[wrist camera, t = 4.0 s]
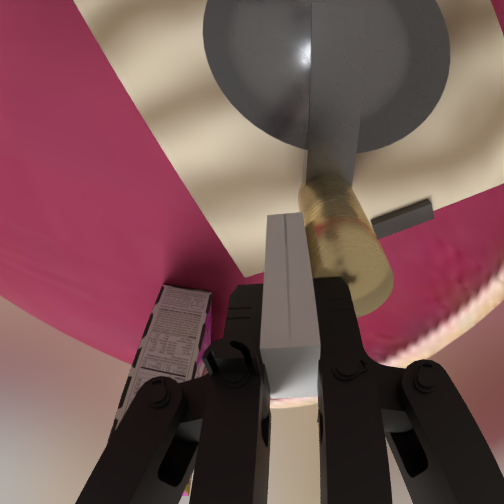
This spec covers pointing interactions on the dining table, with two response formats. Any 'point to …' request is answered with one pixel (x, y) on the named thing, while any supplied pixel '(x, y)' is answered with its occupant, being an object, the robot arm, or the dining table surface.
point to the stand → (290, 157)
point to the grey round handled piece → (332, 105)
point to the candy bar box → (171, 344)
